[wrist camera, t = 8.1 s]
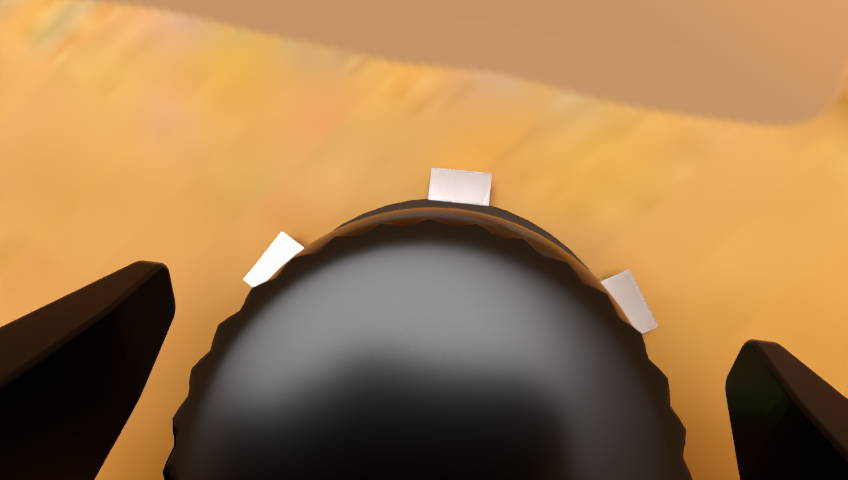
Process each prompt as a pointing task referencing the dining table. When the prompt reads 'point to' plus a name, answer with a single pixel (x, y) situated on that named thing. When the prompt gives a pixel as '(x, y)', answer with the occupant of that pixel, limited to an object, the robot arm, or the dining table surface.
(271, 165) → the dining table surface
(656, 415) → the supplement bottle
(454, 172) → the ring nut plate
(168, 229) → the dining table surface
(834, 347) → the dining table surface
